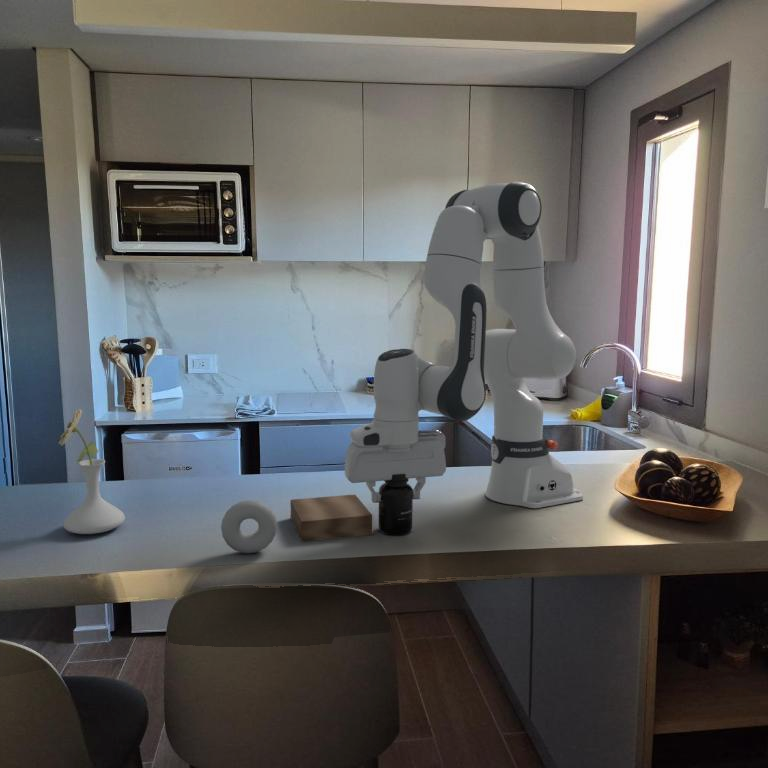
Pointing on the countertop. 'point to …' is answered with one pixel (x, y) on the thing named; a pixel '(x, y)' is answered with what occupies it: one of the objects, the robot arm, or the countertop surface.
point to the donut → (241, 513)
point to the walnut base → (330, 517)
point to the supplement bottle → (395, 506)
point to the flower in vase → (90, 492)
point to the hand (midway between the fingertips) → (395, 500)
